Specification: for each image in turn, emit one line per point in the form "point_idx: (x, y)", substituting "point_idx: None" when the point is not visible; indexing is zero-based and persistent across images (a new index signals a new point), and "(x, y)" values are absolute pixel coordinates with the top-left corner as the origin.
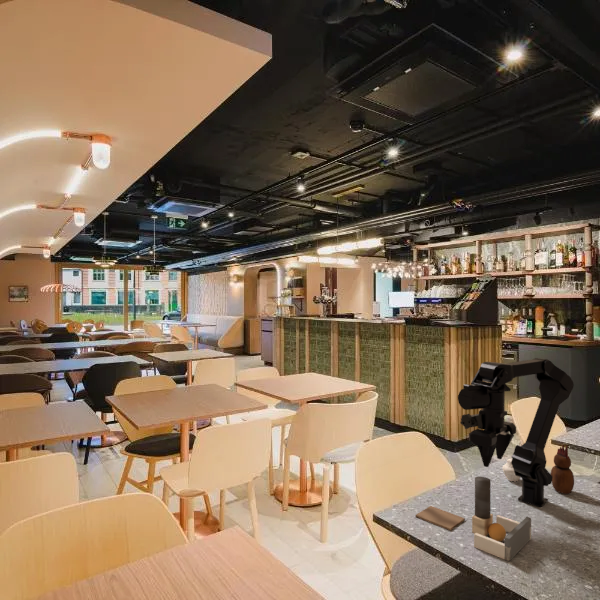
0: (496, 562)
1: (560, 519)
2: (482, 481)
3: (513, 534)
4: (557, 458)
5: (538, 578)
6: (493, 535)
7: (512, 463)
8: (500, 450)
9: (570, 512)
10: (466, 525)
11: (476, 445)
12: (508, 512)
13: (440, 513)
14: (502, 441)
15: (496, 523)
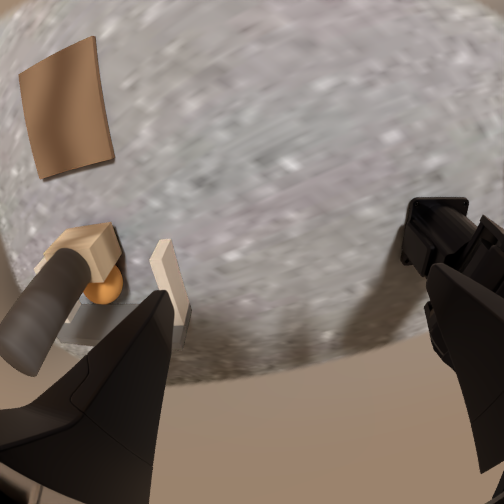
0: None
1: (358, 311)
2: (6, 360)
3: (79, 344)
4: None
5: (90, 346)
6: None
7: (491, 255)
8: (460, 331)
9: (411, 308)
10: (96, 180)
11: (4, 414)
12: (298, 214)
13: (74, 94)
14: (496, 402)
15: (93, 294)
